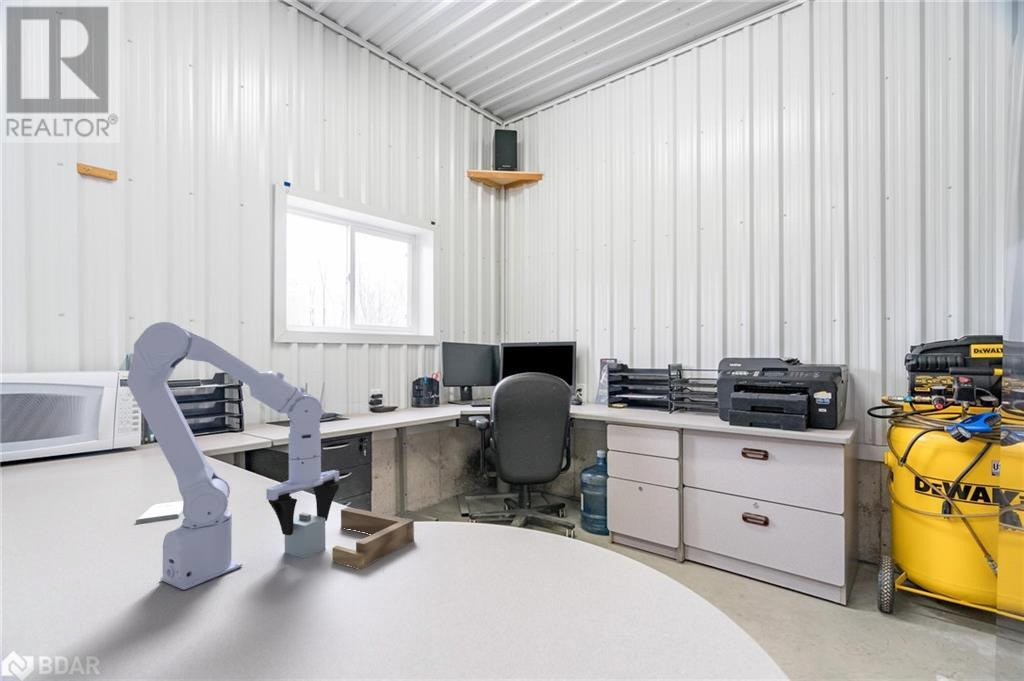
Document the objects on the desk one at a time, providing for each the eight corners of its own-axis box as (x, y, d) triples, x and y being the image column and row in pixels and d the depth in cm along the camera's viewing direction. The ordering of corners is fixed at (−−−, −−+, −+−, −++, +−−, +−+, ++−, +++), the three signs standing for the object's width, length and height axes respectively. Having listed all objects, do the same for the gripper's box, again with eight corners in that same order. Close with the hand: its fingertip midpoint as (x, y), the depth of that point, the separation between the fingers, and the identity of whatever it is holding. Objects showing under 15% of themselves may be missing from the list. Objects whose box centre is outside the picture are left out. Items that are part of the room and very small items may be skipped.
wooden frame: (359, 569, 77) (359, 546, 78) (290, 549, 86) (290, 528, 87) (413, 540, 90) (413, 520, 90) (348, 525, 99) (348, 507, 99)
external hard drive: (135, 526, 103) (152, 510, 114) (178, 520, 106) (191, 505, 118) (135, 519, 103) (152, 504, 114) (178, 513, 106) (191, 499, 118)
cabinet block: (304, 558, 82) (304, 520, 83) (284, 552, 85) (284, 515, 86) (325, 549, 86) (325, 512, 87) (305, 543, 89) (305, 508, 90)
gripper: (283, 466, 78) (283, 544, 78) (349, 450, 91) (349, 517, 91) (259, 463, 82) (259, 538, 81) (325, 448, 95) (326, 512, 94)
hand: (305, 527), depth 86 cm, fingers open, 7 cm apart
